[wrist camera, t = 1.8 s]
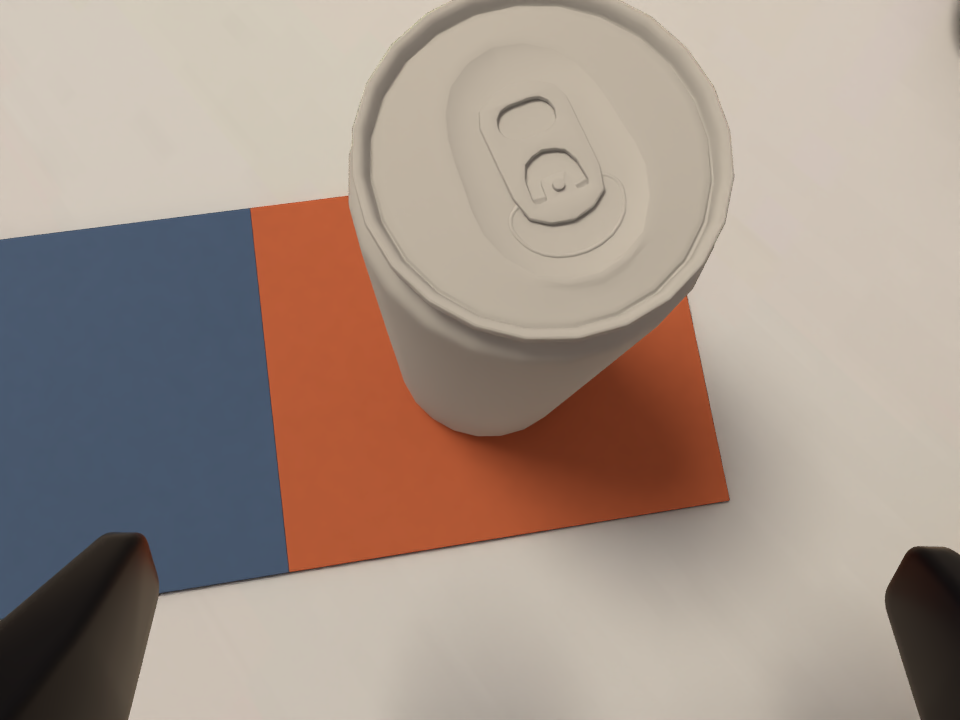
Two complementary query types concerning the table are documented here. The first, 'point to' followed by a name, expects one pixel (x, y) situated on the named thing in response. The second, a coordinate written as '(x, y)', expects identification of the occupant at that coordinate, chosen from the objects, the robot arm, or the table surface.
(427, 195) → the beverage can
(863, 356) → the table surface
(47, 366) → the sorting mat
